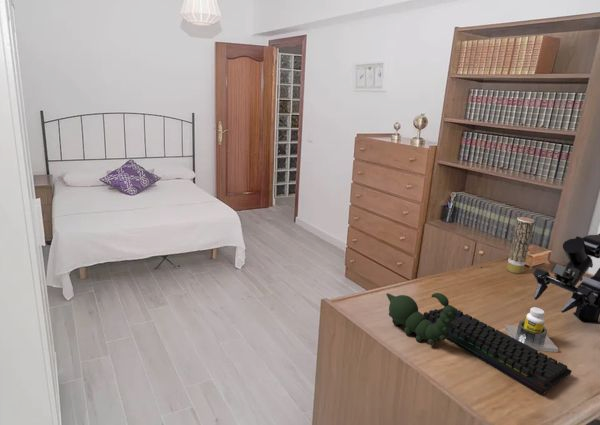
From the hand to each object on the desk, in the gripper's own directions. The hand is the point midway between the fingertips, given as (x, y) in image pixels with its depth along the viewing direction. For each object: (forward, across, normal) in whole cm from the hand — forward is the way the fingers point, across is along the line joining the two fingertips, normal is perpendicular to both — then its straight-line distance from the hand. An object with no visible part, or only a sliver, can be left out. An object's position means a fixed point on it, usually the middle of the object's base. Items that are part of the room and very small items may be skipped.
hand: (548, 305), depth 141 cm
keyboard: (+25, -3, -8) cm, 27 cm away
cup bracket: (+12, 0, +4) cm, 13 cm away
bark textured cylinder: (-20, -39, +37) cm, 58 cm away
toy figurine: (+36, -19, -20) cm, 45 cm away
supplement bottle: (+11, 0, +3) cm, 12 cm away
